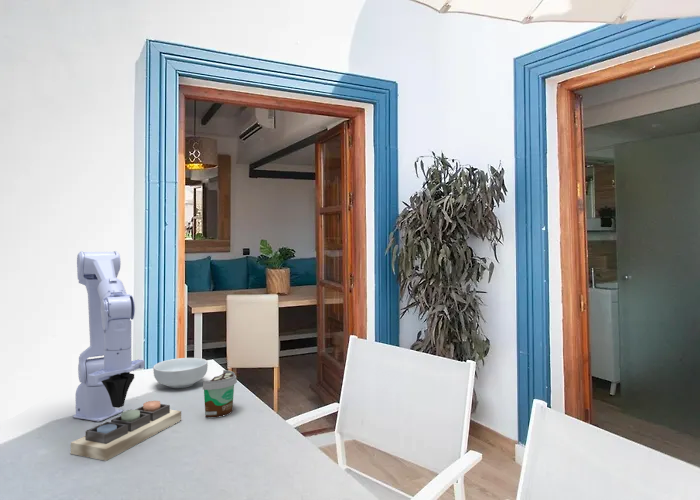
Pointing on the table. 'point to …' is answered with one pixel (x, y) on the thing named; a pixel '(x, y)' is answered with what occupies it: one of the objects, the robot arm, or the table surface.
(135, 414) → the button sage
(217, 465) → the table surface
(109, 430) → the button blue
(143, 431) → the button board
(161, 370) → the cereal bowl
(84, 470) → the table surface
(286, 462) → the table surface
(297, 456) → the table surface
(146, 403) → the button terracotta
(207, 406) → the food container
